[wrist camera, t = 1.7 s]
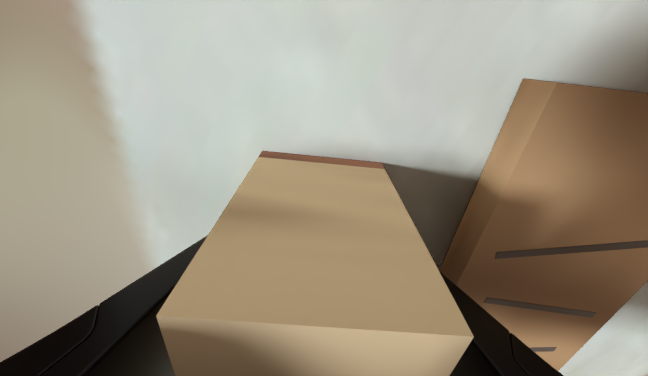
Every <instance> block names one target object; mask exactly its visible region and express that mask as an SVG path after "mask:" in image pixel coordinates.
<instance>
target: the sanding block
mask: <svg viewBox="0 0 648 376" xmlns="http://www.w3.org/2000/svg"><path fill="white" fill-rule="evenodd" d="M156 317H157V320H158V324H159V327H160V330H161V333H162V336H163V339H164V342H165V345H166V348H167V351H168V355H169V358H170V361H171V364H172V367H173V370H174V373H175V376H450V374H451V372H452V371H453V369H454V368H455V366H456V365H457V363H458V361H459V360H460V358H461V357H462V355H463V353H464V352H465V350H466V349H467V347H468V346H469V344H470V342H471V341H472V339H473V338H474V336H473V334H472V332H471V330H470V328H469V326H468V325H467V323H466V321H465V319H464V317H463V315H462V313H461V311H460V310H459V308H458V306H457V304H456V302H455V300H454V298H453V296H452V295H451V293H450V291H449V289H448V287H447V285H446V283H445V281H444V279H443V278H442V276H441V274H440V272H439V270H438V268H437V266H436V264H435V263H434V261H433V259H432V257H431V255H430V253H429V251H428V249H427V248H426V246H425V244H424V242H423V240H422V238H421V236H420V234H419V233H418V231H417V229H416V227H415V225H414V223H413V221H412V219H411V217H410V216H409V214H408V212H407V210H406V208H405V206H404V204H403V202H402V201H401V199H400V197H399V195H398V193H397V191H396V189H395V187H394V186H393V184H392V182H391V180H390V178H389V176H388V174H387V172H386V171H385V169H384V167H383V165H382V163H380V162H370V161H360V160H350V159H339V158H329V157H319V156H309V155H299V154H289V153H278V152H268V151H262V152H261V154H260V155H259V157H258V159H257V160H256V162H255V163H254V165H253V166H252V168H251V169H250V171H249V172H248V174H247V176H246V177H245V179H244V180H243V182H242V183H241V185H240V186H239V188H238V190H237V191H236V193H235V194H234V196H233V197H232V199H231V200H230V202H229V204H228V205H227V207H226V208H225V210H224V211H223V213H222V214H221V216H220V217H219V219H218V221H217V222H216V224H215V225H214V227H213V228H212V230H211V231H210V233H209V235H208V236H207V238H206V239H205V241H204V242H203V244H202V245H201V247H200V249H199V250H198V252H197V253H196V255H195V256H194V258H193V259H192V261H191V263H190V264H189V266H188V267H187V269H186V270H185V272H184V273H183V275H182V276H181V278H180V280H179V281H178V283H177V284H176V286H175V287H174V289H173V290H172V292H171V294H170V295H169V297H168V298H167V300H166V301H165V303H164V304H163V306H162V308H161V309H160V311H159V312H158V314H157V315H156Z"/></svg>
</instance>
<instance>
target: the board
mask: <svg viewBox="0 0 648 376" xmlns="http://www.w3.org/2000/svg"><path fill="white" fill-rule="evenodd" d="M439 271H440V272H441V273H443V274H444V275H445V276H446V277H447V278H448V279H450V280H451V281H452V282H453V283H454V284H455V285H457V286H458V287H459V288H460V289H461V290H462V291H464V292H465V293H466V294H467V295H468V296H469V297H471V298H472V299H473V300H474V301H475V302H476V303H477V304H479V305H480V306H481V307H482V308H483V309H484V310H486V311H487V312H488V313H489V314H490V315H491V316H493V317H494V318H495V319H496V320H497V321H498V322H500V323H501V324H502V325H503V326H504V327H505V328H507V329H508V330H509V332H510V333H512V334H514V335H515V336H516V337H517V338H518V339H520V340H521V341H522V342H523V343H524V344H525V345H527V346H528V347H529V348H530V349H531V350H533V351H534V352H535V353H536V354H537V355H539V356H540V357H541V358H542V359H543V360H544V361H546V362H547V363H548V364H549V365H551V366H552V367H553V368H554V369H556V370H557V371H559V369H560V368H561V367H562V366H563V365H564V364H565V363H566V362H567V361H568V360H569V359H570V358H571V357H572V356H573V355H574V354H575V353H576V352H577V351H578V350H579V349H580V348H581V347H582V346H583V345H584V344H585V343H586V342H587V341H588V340H589V339H590V338H591V337H592V336H593V335H594V334H595V333H596V332H597V331H598V330H599V329H600V328H601V327H602V326H603V325H604V324H605V323H606V322H607V321H608V320H609V319H610V318H611V317H612V316H613V315H614V314H615V313H616V312H617V311H618V310H619V309H620V308H621V307H622V306H623V305H624V304H625V303H626V302H627V301H628V300H629V299H630V298H631V297H632V296H633V295H634V294H635V293H636V292H637V291H638V290H639V289H640V288H641V287H642V286H643V285H644V284H645V283H646V282H647V281H648V93H642V92H633V91H625V90H616V89H608V88H599V87H591V86H582V85H574V84H565V83H557V82H548V81H540V80H531V79H523V80H522V82H521V85H520V87H519V89H518V91H517V94H516V96H515V98H514V101H513V103H512V105H511V107H510V110H509V112H508V114H507V117H506V119H505V121H504V123H503V126H502V128H501V130H500V133H499V135H498V137H497V140H496V142H495V144H494V146H493V149H492V151H491V153H490V156H489V158H488V160H487V162H486V165H485V167H484V169H483V172H482V174H481V176H480V178H479V181H478V183H477V185H476V188H475V190H474V192H473V195H472V197H471V199H470V201H469V204H468V206H467V208H466V211H465V213H464V215H463V217H462V220H461V222H460V224H459V227H458V229H457V231H456V233H455V236H454V238H453V240H452V243H451V245H450V247H449V250H448V252H447V254H446V256H445V259H444V261H443V263H442V266H441V268H440V270H439Z"/></svg>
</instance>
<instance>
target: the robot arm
mask: <svg viewBox="0 0 648 376" xmlns="http://www.w3.org/2000/svg"><path fill="white" fill-rule="evenodd" d="M207 236H208V235H207ZM207 236H206V237H204V238H203V239H201V240H199V241H198V242H196V243H195V244H193V245H192V246H190V247H188V248H187V249H185V250H184V251H182V252H181V253H179V254H177V255H176V256H174V257H173V258H171V259H169V260H168V261H166V262H165V263H163V264H162V265H160V266H158V267H157V268H155V269H154V270H152V271H150V272H149V273H147V274H146V275H144V276H143V277H141V278H139V279H138V280H136V281H135V282H133V283H131V284H130V285H128V286H127V287H125V288H124V289H122V290H120V291H119V292H117V293H116V294H114V295H112V296H111V297H109V298H108V299H106V300H105V301H103V302H101V303H100V305H99V306H98V305H97V306H95V307H94V308H92V309H90V310H89V311H87V312H85V313H84V314H82V315H81V316H79V317H78V318H76V319H74V320H72V321H71V322H69V323H68V324H66V325H64V326H63V327H61V328H59V329H58V330H56V331H55V332H53V333H51V334H49V335H48V336H46V337H44V338H42V339H41V340H39V341H37V342H35V343H34V344H32V345H30V346H28V347H27V348H25V349H24V350H21V351H20V352H18V353H16V354H14V355H13V356H11V357H9V358H7V359H5V360H4V361H2V362H0V376H175V373H174V370H173V367H172V364H171V361H170V358H169V355H168V351H167V348H166V345H165V342H164V339H163V336H162V333H161V330H160V327H159V324H158V320H157V317H156V315H157V314H158V312H159V311H160V309H161V308H162V306H163V304H164V303H165V301H166V300H167V298H168V297H169V295H170V294H171V292H172V290H173V289H174V287H175V286H176V284H177V283H178V281H179V280H180V278H181V276H182V275H183V273H184V272H185V270H186V269H187V267H188V266H189V264H190V263H191V261H192V259H193V258H194V256H195V255H196V253H197V252H198V250H199V249H200V247H201V245H202V244H203V242H204V241H205V239H206V238H207ZM439 272H440V271H439ZM440 274H441V276H442V278H443V279H444V281H445V283H446V285H447V287H448V289H449V291H450V293H451V295H452V296H453V298H454V300H455V302H456V304H457V306H458V308H459V310H460V311H461V313H462V315H463V317H464V319H465V321H466V323H467V325H468V326H469V328H470V330H471V332H472V334H473V336H474V338H473V339H472V341H471V342H470V344H469V346H468V347H467V349H466V350H465V352H464V353H463V355H462V357H461V358H460V360H459V361H458V363H457V365H456V366H455V368H454V369H453V371H452V372H451V374H450V376H563V375H562V374H561V373H560V372H558V371H557V370H556V369H554V368H553V367H552V366H551V365H549V364H548V363H547V362H546V361H544V360H543V359H542V358H541V357H540V356H539V355H537V354H536V353H535V352H534V351H533V350H531V349H530V348H529V347H528V346H527V345H525V344H524V343H523V342H522V341H521V340H520V339H518V338H517V337H516V336H515V335H514V334H512V333H510V332H509V330H508V329H507V328H505V327H504V326H503V325H502V324H501V323H500V322H498V321H497V320H496V319H495V318H494V317H493V316H491V315H490V314H489V313H488V312H487V311H486V310H484V309H483V308H482V307H481V306H480V305H479V304H477V303H476V302H475V301H474V300H473V299H472V298H471V297H469V296H468V295H467V294H466V293H465V292H464V291H462V290H461V289H460V288H459V287H458V286H457V285H455V284H454V283H453V282H452V281H451V280H450V279H448V278H447V277H446V276H445V275H444V274H443V273H441V272H440Z"/></svg>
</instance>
